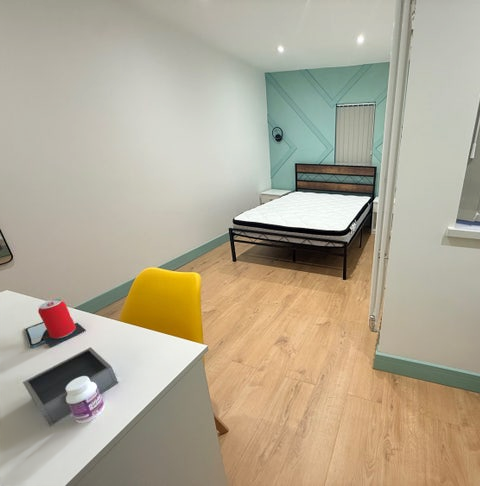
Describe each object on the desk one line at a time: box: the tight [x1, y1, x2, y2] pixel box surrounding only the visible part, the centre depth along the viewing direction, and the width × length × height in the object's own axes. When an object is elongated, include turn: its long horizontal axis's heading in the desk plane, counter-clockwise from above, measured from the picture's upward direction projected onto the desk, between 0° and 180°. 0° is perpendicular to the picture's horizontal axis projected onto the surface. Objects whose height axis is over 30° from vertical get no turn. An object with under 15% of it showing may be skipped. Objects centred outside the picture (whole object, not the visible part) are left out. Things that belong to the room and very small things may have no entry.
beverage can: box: [37, 298, 76, 338], centre depth 85 cm, size 6×6×12 cm
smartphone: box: [24, 321, 50, 349], centre depth 89 cm, size 7×1×15 cm
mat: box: [43, 322, 87, 348], centre depth 87 cm, size 9×7×1 cm
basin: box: [22, 347, 119, 427], centre depth 67 cm, size 14×14×6 cm
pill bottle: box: [66, 376, 106, 424], centre depth 61 cm, size 5×5×10 cm
